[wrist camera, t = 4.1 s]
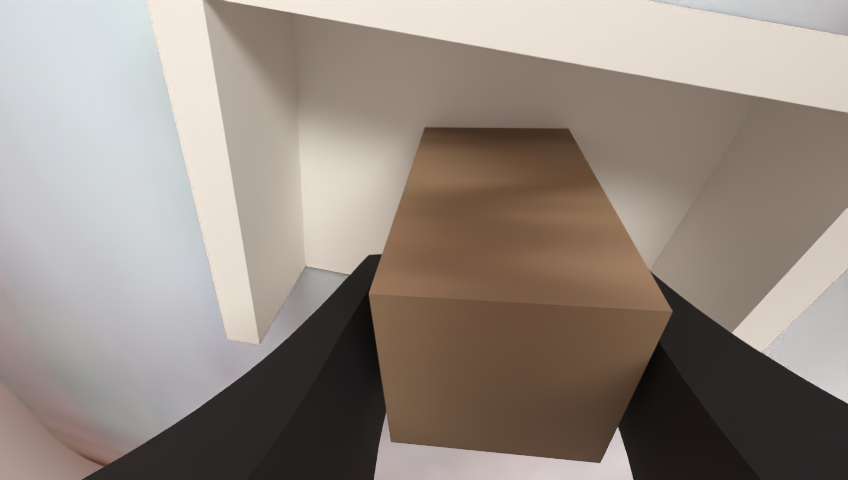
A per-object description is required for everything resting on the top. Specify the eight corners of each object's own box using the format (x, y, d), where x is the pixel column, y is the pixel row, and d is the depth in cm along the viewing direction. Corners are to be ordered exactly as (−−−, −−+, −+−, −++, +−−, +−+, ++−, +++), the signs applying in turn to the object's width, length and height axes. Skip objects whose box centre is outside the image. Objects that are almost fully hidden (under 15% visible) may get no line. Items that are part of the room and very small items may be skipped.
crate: (828, 32, 9) (1051, 72, 6) (636, 317, 15) (685, 425, 11) (259, -69, 9) (124, -93, 6) (286, 252, 15) (227, 338, 12)
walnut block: (568, 128, 11) (672, 311, 5) (546, 245, 13) (600, 463, 7) (425, 127, 11) (368, 294, 5) (428, 240, 13) (390, 441, 8)
